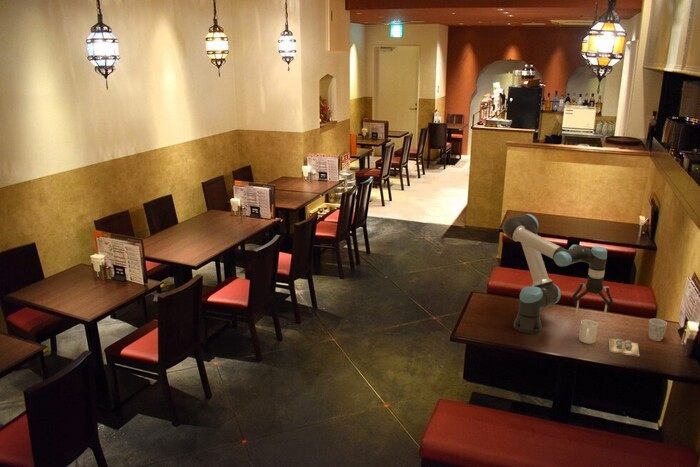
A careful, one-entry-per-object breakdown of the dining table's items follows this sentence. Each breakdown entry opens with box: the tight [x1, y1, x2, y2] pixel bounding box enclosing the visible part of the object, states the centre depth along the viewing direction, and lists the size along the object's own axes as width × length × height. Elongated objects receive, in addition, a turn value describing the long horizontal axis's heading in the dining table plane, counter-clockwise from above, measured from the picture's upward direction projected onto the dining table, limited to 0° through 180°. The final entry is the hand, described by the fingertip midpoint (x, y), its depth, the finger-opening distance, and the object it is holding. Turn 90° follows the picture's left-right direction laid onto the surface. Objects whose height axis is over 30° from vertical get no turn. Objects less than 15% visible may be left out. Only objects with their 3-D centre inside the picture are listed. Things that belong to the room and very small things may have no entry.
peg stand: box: [608, 338, 640, 358], centre depth 293 cm, size 14×14×4 cm
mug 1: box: [578, 319, 599, 345], centre depth 299 cm, size 12×8×10 cm
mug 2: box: [648, 318, 668, 342], centre depth 304 cm, size 11×8×10 cm
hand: (590, 314), depth 296 cm, fingers open, 13 cm apart
